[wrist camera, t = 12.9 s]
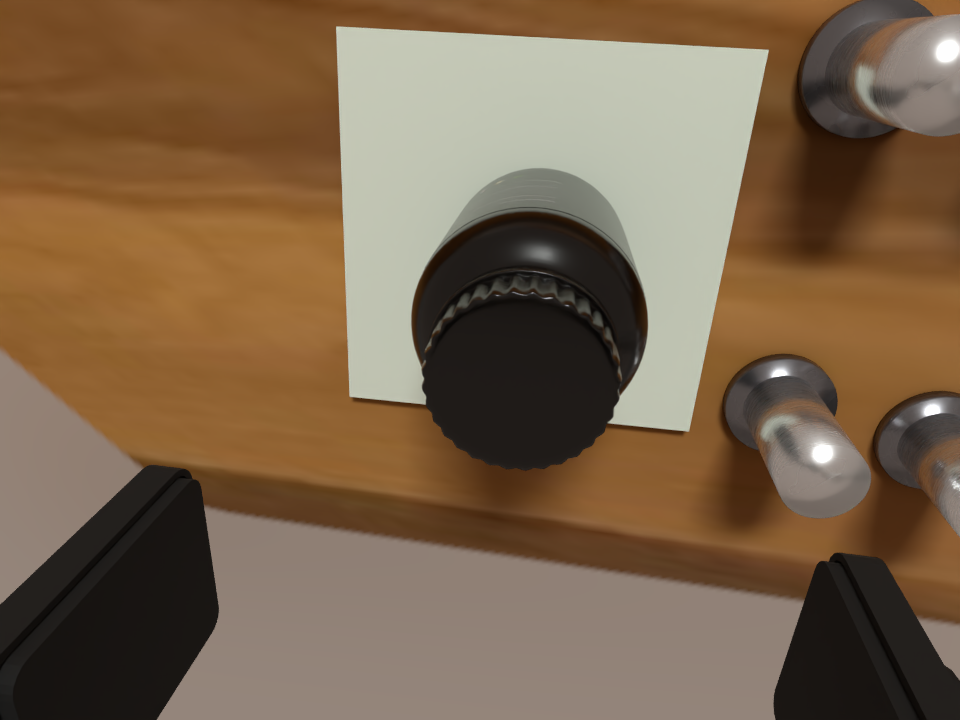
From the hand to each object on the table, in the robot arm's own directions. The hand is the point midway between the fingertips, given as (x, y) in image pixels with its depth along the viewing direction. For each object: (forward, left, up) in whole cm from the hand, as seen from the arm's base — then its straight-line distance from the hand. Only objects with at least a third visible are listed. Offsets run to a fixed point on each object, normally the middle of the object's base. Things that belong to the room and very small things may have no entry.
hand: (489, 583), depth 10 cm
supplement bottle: (0, 0, -19) cm, 19 cm away
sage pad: (0, 0, -19) cm, 19 cm away
